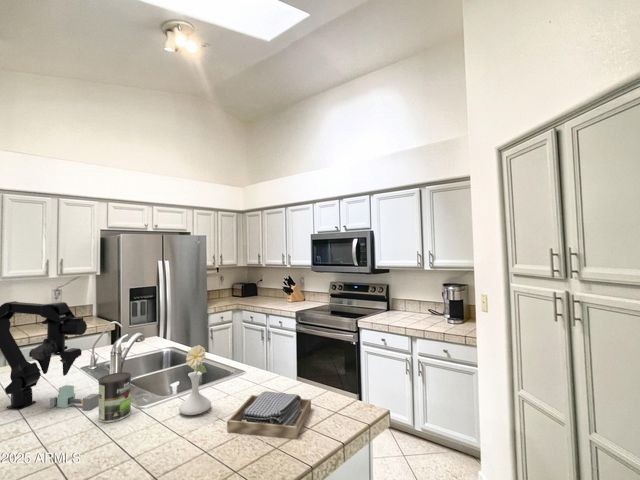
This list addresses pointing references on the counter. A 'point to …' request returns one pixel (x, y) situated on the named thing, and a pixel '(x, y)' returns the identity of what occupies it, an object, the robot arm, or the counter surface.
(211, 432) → the counter surface
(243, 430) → the linen tray frame
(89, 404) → the grey angular piece
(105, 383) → the coffee can
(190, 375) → the flower in vase
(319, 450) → the counter surface
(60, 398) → the mint stepped block
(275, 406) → the towel
